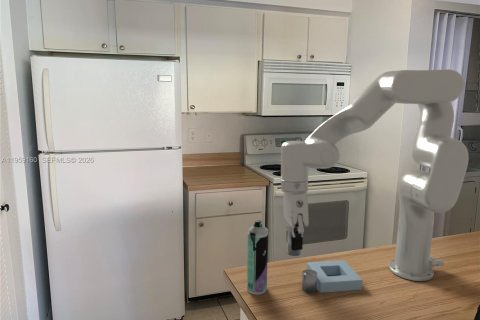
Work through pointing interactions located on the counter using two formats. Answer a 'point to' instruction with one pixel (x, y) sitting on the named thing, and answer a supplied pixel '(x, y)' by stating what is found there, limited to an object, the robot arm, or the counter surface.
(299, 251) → the long pin
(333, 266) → the collar block
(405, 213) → the robot arm
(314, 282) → the short pin
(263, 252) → the spray can
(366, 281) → the counter surface
